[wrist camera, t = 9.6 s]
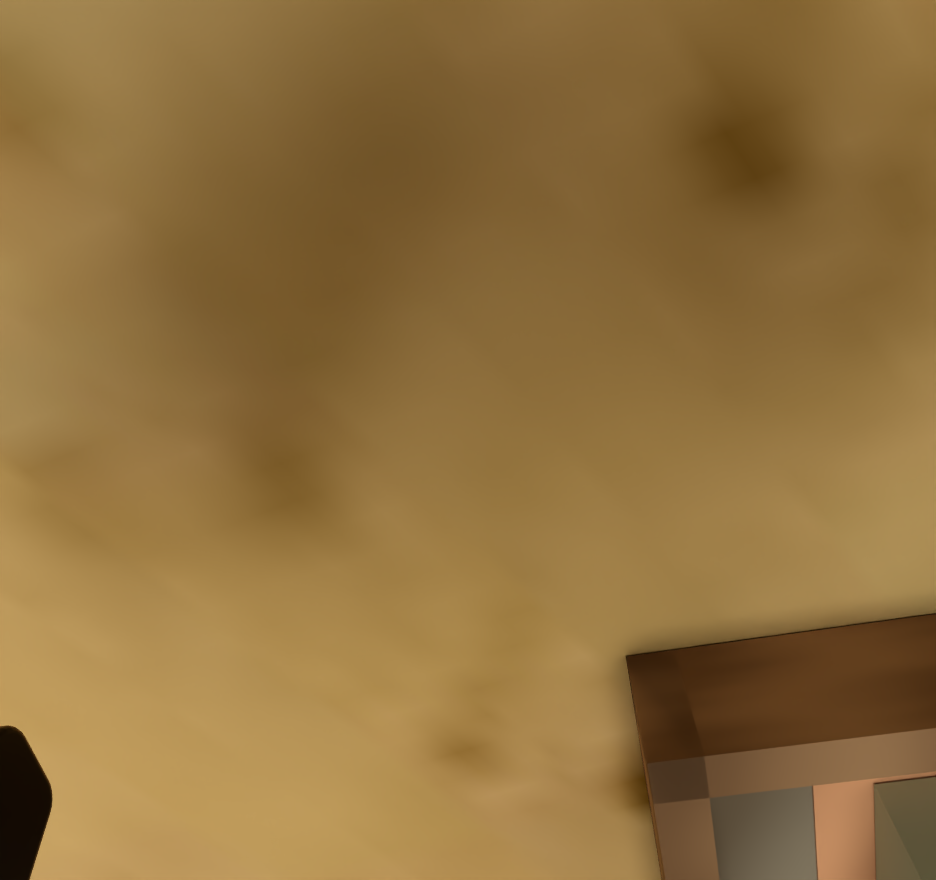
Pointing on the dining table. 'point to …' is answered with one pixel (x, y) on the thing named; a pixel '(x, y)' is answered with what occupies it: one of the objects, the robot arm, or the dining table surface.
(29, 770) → the robot arm
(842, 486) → the dining table surface
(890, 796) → the cube
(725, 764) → the arena
